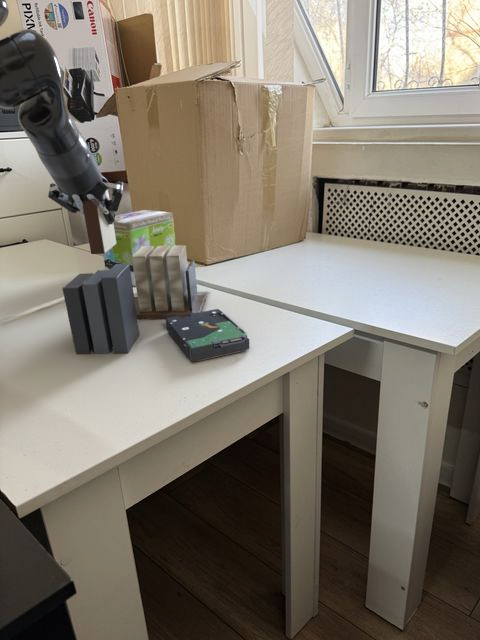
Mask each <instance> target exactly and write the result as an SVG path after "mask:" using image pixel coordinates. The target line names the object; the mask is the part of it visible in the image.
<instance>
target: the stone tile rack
mask: <svg viewBox="0 0 480 640" xmlns="http://www.w3.org/2000/svg"><path fill="white" fill-rule="evenodd" d="M175 245H176V244H175ZM132 260H133V268H134V275H135V282H136V286H135V288H136V294H137V295H136V296H135V295H134V300H135V307H136V314H137V321H138V320H166V318H170V317H176V316H178V317H180V318H184V317H186V316H187V315H189V314H192V313H197V312H203V311H202V310H203V308H204V305H205V302H206V300H207V299H206V298H207V297H206V294H198V284H197V273H196V263H195V261H196V260H195V259H191V260H190V262H189V264H188V256H187V246H186V244H182V245H181V244H180V245H178V244H177V245H176V246H173V247H172V249H171V250H170V246H158V247H157V248H156V249H155V250H154V246H142V247H141V248H140V249H139V250H138V251H137V252H136V253H135V254H134V255H133V256H132Z"/></svg>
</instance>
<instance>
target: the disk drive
mask: <svg viewBox="0 0 480 640" xmlns="http://www.w3.org/2000/svg"><path fill="white" fill-rule="evenodd" d="M165 325H166V330H167V332H168V333H169V335H170V336H171V337H172V339H173V340H174V342H175V343H176V344H177V345H178V346H179V348H180V349H181V350H182V352H183V353H184V354H185V356H186V357H187V358H188V359H189V361H190V362H198V361H204V360H208V359H213V358H217V357H221V356H227V355H232V354H236V353H240V352H245V351H246V350H249V349H250V338H248V335H247V333H246V332H245V331H244V330H243V329H242V328H241V327H240V326H238V325H237V323H235V322H234V321H233V320H232V319H230V318H229V317H228V316H227V315H226V314H225V313H224V312H223V311H222V310H220V309H219V308H216V309H209V310H205V311H201V312H197V313H192V314H189V315H187V316H186V317H184V318H180V317H178V316H176V317H170V318H166V319H165Z"/></svg>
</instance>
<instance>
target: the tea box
mask: <svg viewBox="0 0 480 640" xmlns="http://www.w3.org/2000/svg"><path fill="white" fill-rule="evenodd" d="M113 225H114V231H115V237H116V244H115V245H114V246H113V247H112V248H111V249H109V250H108V251H107V252H106V253H105V254H102V255H103V262H104V270H110V269H111V268H112V267H113V266H114V265H115V264H129V265H130V272H131V279H132V286H133V287H136V282H135V275H134V268H133V260H132V256H133V255H134V254H135V253H136V252H137V251H138V250H139V249H140V248H141V247H142V246H154V250H155V249H156V248H157V247H158V246H170V250H171V249H172V247H173V246H176V234H175V222H174V213H173V212H171V211H170V212H169V211H159V210H151V209H150V210H149V209H142V210H136V211H132V212H131V211H130V212H127V213H122V214H118V215H115V222H113Z"/></svg>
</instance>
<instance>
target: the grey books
mask: <svg viewBox="0 0 480 640" xmlns="http://www.w3.org/2000/svg"><path fill="white" fill-rule="evenodd" d="M62 292H63V298H64V304H65V307H66V312H67V318H68V322H69V327H70V333H71V337H72V342H73V346H74V347H73V348H74V352H75V354H76V355H90V354H91V353H92V352H93V351H94V354H95V355H97V354H98V355H100V354H101V355H105V354H110V353H111V352H112V350H113V354H129V352H130V351H131V349H132V348H133V346H134V344H135V342H136V341H137V339H138V337H139V335H140V329H139V322H138V320H137V314H136V307H135V300H134V296H135V295H134V293H135V292H134V286H132V279H131V272H130V265H129V264H115V265H114V266H113V267H112V268H111V269H110V270H105V269H98V270H97V271H96V272H95V273H92V272H91V273H79V274H77V275H76V276H75V277H74V278H73V279H72V280H70V281H69V282H68V283H67V284H65V285H64V286H63V287H62Z"/></svg>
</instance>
